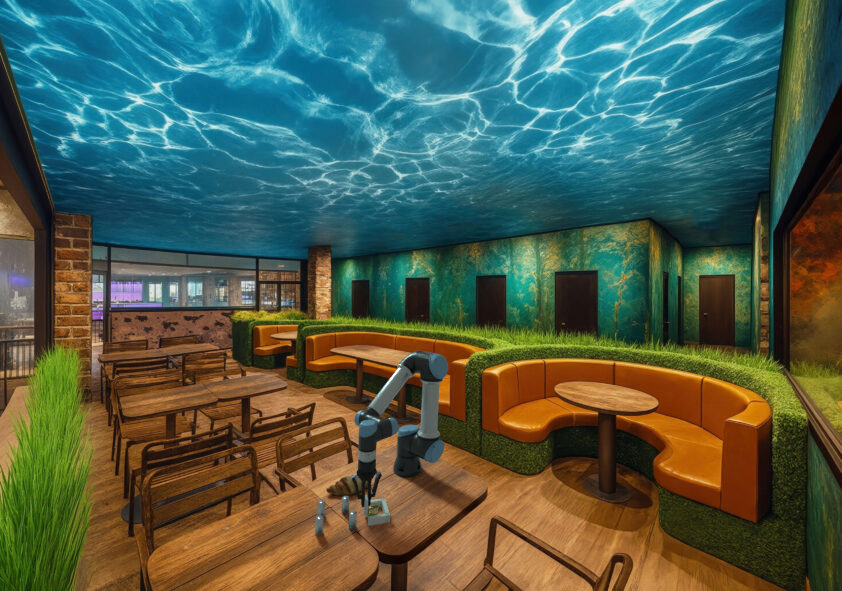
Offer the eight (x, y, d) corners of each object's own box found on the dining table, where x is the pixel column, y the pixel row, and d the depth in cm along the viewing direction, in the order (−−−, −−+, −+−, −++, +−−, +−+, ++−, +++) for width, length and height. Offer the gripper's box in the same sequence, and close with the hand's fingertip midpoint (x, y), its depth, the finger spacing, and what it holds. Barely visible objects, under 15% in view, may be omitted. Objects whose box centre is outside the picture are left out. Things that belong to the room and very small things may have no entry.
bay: (364, 507, 152) (364, 501, 152) (384, 504, 155) (384, 498, 155) (368, 526, 141) (368, 518, 141) (389, 522, 143) (390, 515, 143)
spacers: (315, 514, 147) (315, 500, 147) (353, 508, 152) (353, 494, 152) (315, 537, 134) (315, 521, 134) (356, 529, 138) (357, 515, 138)
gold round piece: (366, 512, 149) (366, 504, 149) (376, 511, 150) (377, 502, 150) (368, 519, 144) (368, 511, 144) (378, 518, 146) (379, 509, 146)
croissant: (368, 490, 172) (367, 472, 175) (374, 490, 164) (372, 471, 167) (325, 498, 163) (324, 479, 166) (328, 499, 155) (328, 479, 158)
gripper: (352, 464, 140) (350, 521, 141) (384, 461, 144) (382, 516, 145) (350, 456, 148) (349, 510, 148) (380, 452, 151) (379, 505, 152)
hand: (365, 513), depth 146 cm, fingers closed
